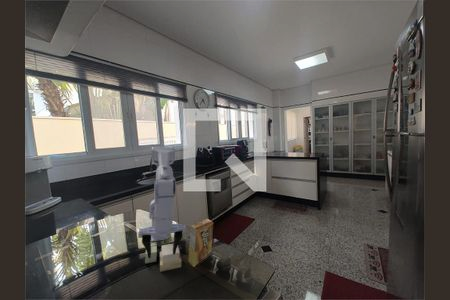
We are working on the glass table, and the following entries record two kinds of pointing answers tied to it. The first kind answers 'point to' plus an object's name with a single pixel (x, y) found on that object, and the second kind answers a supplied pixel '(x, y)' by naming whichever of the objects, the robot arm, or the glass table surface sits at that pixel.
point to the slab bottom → (170, 264)
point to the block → (153, 255)
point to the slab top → (169, 253)
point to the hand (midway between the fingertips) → (162, 254)
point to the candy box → (200, 241)
